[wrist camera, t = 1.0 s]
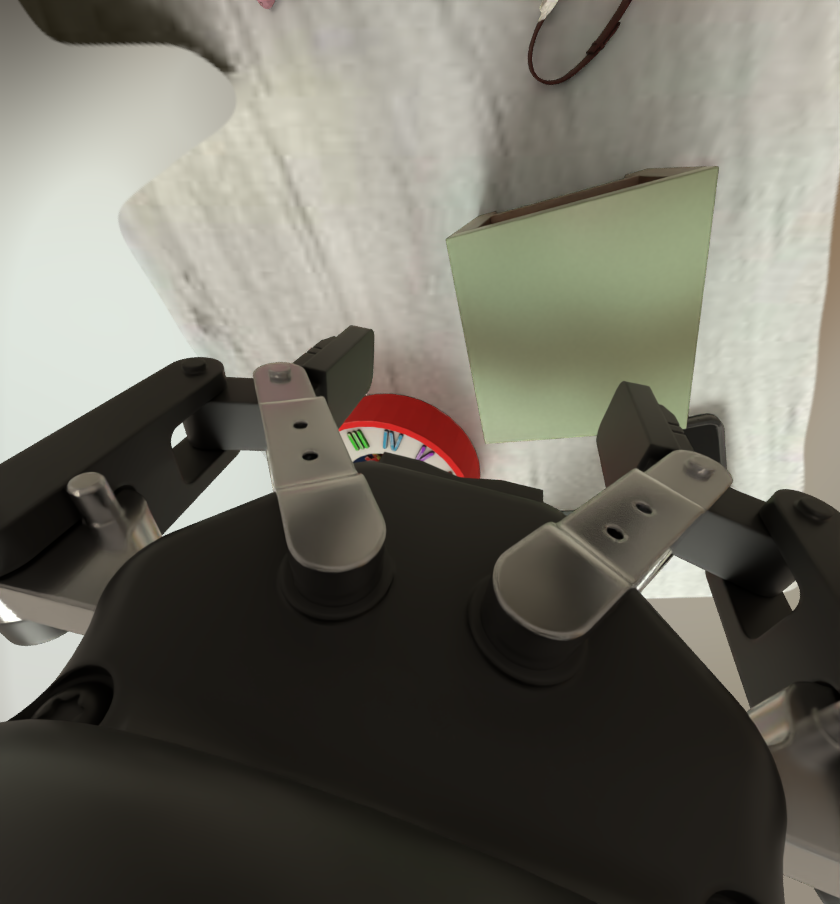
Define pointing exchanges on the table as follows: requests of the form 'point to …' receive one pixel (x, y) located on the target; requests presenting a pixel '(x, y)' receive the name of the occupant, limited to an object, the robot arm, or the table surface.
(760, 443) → the table surface
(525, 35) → the table surface
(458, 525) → the robot arm
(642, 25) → the table surface
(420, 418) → the toy clock
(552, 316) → the small side table
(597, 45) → the watch
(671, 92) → the table surface
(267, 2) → the video game controller
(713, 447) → the phone
